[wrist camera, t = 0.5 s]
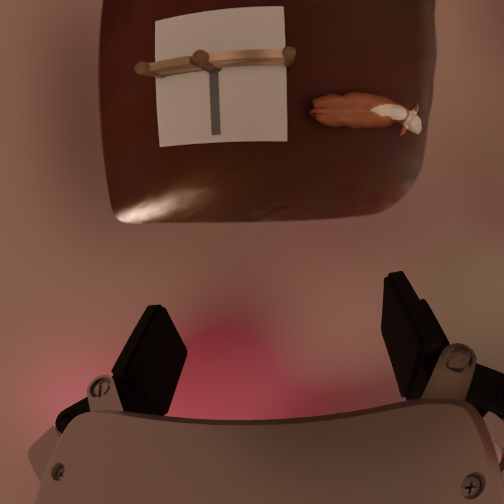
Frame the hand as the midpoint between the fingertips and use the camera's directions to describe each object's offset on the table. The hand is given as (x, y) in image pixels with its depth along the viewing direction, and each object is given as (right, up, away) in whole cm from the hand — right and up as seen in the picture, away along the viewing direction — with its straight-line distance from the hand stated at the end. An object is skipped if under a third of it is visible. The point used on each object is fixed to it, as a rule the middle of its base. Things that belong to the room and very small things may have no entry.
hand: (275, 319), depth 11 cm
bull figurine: (+12, +21, +20) cm, 31 cm away
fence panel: (-1, +26, +17) cm, 31 cm away
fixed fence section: (-10, +26, +19) cm, 34 cm away
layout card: (-5, +25, +19) cm, 32 cm away
